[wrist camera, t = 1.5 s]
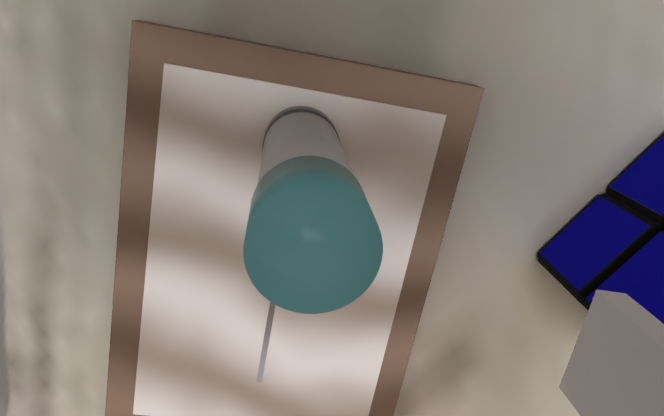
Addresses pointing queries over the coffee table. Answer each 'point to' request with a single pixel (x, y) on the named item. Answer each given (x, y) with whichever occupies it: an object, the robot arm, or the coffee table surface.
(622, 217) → the puzzle cube
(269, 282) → the marker
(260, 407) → the writing board
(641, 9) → the coffee table surface
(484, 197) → the coffee table surface
